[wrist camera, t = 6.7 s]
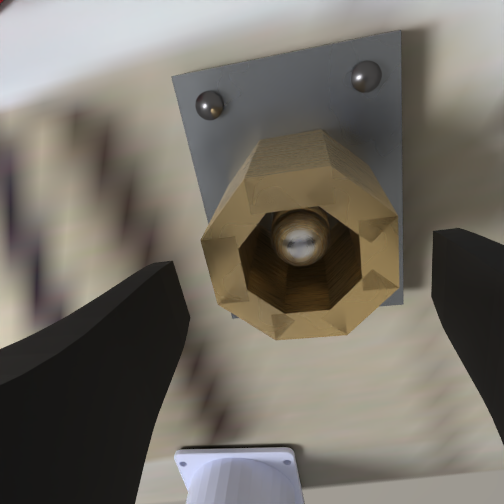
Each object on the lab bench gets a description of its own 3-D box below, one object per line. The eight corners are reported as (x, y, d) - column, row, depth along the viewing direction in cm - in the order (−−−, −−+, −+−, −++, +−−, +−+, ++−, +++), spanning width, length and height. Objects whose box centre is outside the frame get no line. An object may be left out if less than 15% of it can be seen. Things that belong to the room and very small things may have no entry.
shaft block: (397, 289, 19) (430, 372, 14) (235, 304, 20) (216, 384, 15) (393, 31, 14) (442, 23, 9) (180, 74, 15) (126, 87, 10)
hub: (373, 255, 17) (399, 331, 12) (246, 269, 18) (228, 343, 13) (366, 121, 14) (397, 156, 10) (218, 146, 15) (186, 187, 11)
